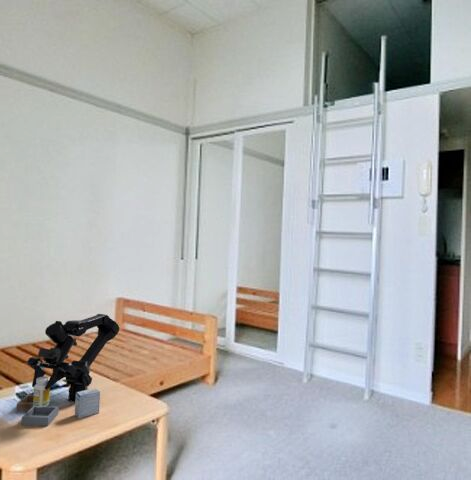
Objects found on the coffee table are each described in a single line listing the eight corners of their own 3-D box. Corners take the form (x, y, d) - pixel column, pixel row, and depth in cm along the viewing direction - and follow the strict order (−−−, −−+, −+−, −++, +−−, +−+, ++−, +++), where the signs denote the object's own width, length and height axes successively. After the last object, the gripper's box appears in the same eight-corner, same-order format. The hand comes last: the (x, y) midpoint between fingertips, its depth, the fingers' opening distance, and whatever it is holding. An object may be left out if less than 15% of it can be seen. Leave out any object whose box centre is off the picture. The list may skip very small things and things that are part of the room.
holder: (48, 402, 165) (49, 395, 165) (39, 411, 156) (39, 403, 156) (27, 401, 164) (27, 394, 164) (16, 411, 156) (16, 403, 156)
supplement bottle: (50, 401, 153) (51, 375, 153) (48, 407, 148) (49, 380, 148) (34, 402, 151) (35, 376, 151) (32, 408, 146) (33, 381, 146)
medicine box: (94, 409, 161) (95, 387, 161) (99, 413, 157) (100, 390, 157) (74, 414, 155) (75, 392, 155) (79, 419, 152) (80, 395, 152)
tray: (58, 414, 154) (58, 406, 154) (47, 425, 145) (48, 417, 145) (33, 414, 154) (33, 406, 154) (21, 425, 145) (21, 416, 145)
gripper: (31, 335, 156) (6, 373, 146) (72, 341, 151) (49, 381, 140) (45, 350, 164) (23, 388, 153) (85, 356, 158) (64, 395, 148)
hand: (39, 388), depth 148 cm, fingers closed on supplement bottle, 5 cm apart
